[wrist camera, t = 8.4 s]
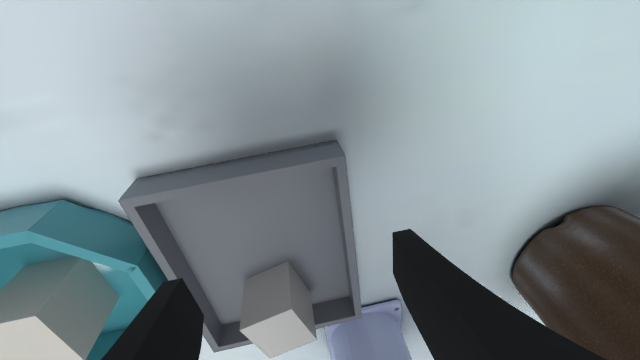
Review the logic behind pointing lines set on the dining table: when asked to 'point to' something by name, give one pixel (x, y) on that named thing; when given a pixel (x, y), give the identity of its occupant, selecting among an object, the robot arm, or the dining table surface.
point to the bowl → (83, 255)
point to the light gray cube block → (277, 311)
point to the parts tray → (253, 232)
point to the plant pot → (587, 280)
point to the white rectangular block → (54, 310)
